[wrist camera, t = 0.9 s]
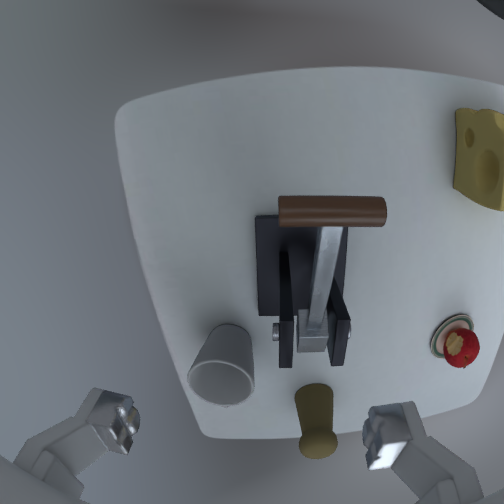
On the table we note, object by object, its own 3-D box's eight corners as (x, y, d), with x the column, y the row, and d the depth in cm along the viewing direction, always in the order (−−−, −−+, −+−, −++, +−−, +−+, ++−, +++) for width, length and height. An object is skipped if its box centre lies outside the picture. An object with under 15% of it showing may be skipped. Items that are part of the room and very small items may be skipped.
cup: (259, 318, 38) (254, 362, 30) (258, 375, 41) (254, 420, 33) (199, 315, 38) (182, 357, 30) (206, 371, 42) (194, 414, 34)
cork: (302, 412, 43) (304, 467, 33) (288, 390, 42) (289, 449, 31) (337, 401, 42) (346, 457, 32) (326, 378, 40) (335, 437, 30)
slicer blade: (278, 183, 14) (278, 217, 12) (379, 184, 14) (392, 217, 12) (279, 326, 25) (279, 352, 23) (338, 325, 24) (341, 351, 23)
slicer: (255, 215, 33) (239, 270, 19) (346, 214, 32) (392, 267, 18) (259, 310, 37) (248, 399, 23) (339, 309, 36) (364, 395, 22)
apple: (425, 360, 38) (439, 388, 32) (435, 317, 36) (455, 344, 30) (465, 351, 38) (482, 376, 31) (477, 309, 35) (498, 332, 29)
